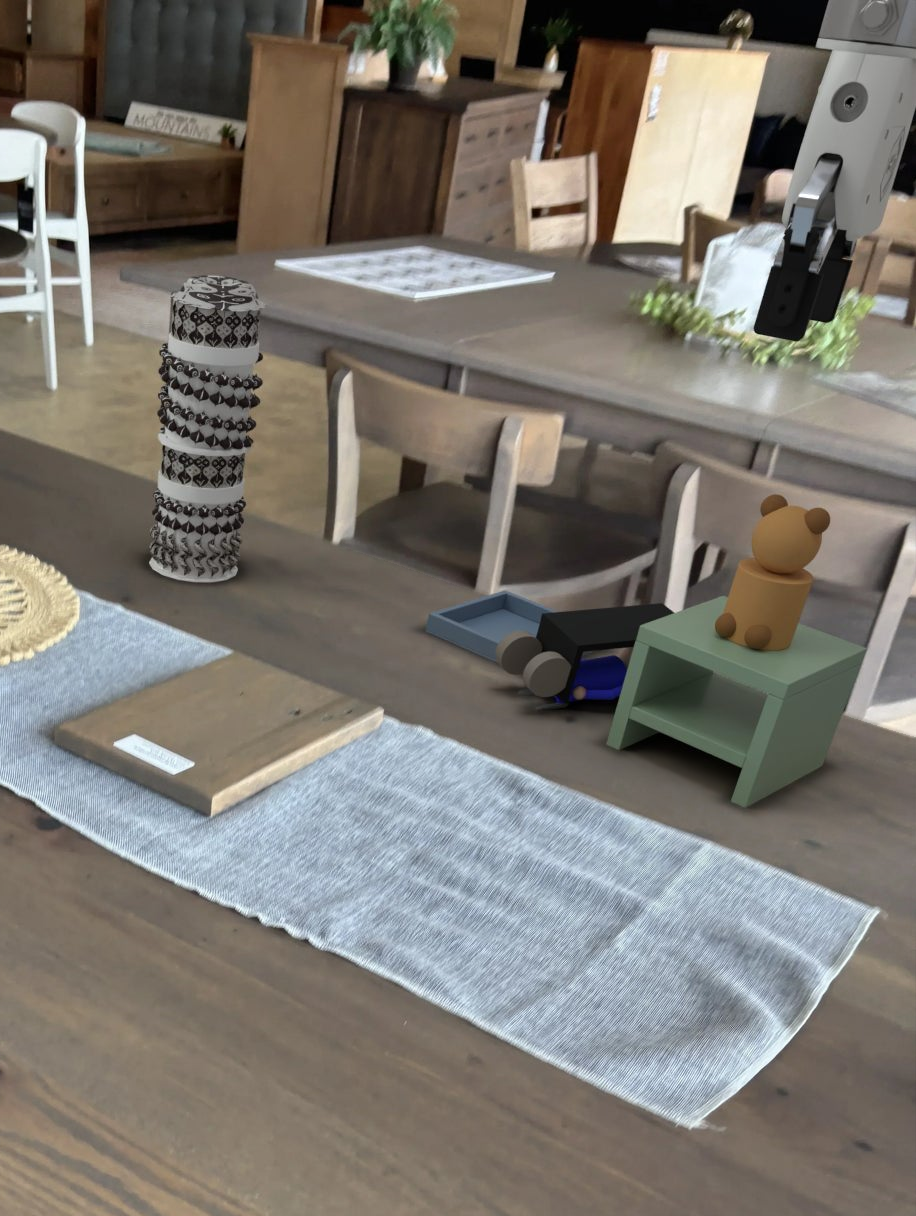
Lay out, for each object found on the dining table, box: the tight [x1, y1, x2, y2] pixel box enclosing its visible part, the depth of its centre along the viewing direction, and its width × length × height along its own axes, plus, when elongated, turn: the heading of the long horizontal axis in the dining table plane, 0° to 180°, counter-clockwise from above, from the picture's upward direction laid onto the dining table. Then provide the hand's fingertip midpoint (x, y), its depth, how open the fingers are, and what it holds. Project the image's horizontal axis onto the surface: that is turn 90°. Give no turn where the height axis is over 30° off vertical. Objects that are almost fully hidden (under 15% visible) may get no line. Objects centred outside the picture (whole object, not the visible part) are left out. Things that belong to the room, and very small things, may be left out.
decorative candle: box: [148, 274, 267, 583], centre depth 126 cm, size 9×9×25 cm
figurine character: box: [495, 602, 675, 711], centre depth 114 cm, size 7×8×15 cm
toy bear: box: [715, 494, 831, 650], centre depth 101 cm, size 6×5×10 cm
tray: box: [425, 590, 599, 664], centre depth 125 cm, size 11×11×2 cm
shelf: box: [605, 595, 868, 809], centre depth 107 cm, size 12×12×10 cm
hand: (793, 327), depth 96 cm, fingers open, 9 cm apart
